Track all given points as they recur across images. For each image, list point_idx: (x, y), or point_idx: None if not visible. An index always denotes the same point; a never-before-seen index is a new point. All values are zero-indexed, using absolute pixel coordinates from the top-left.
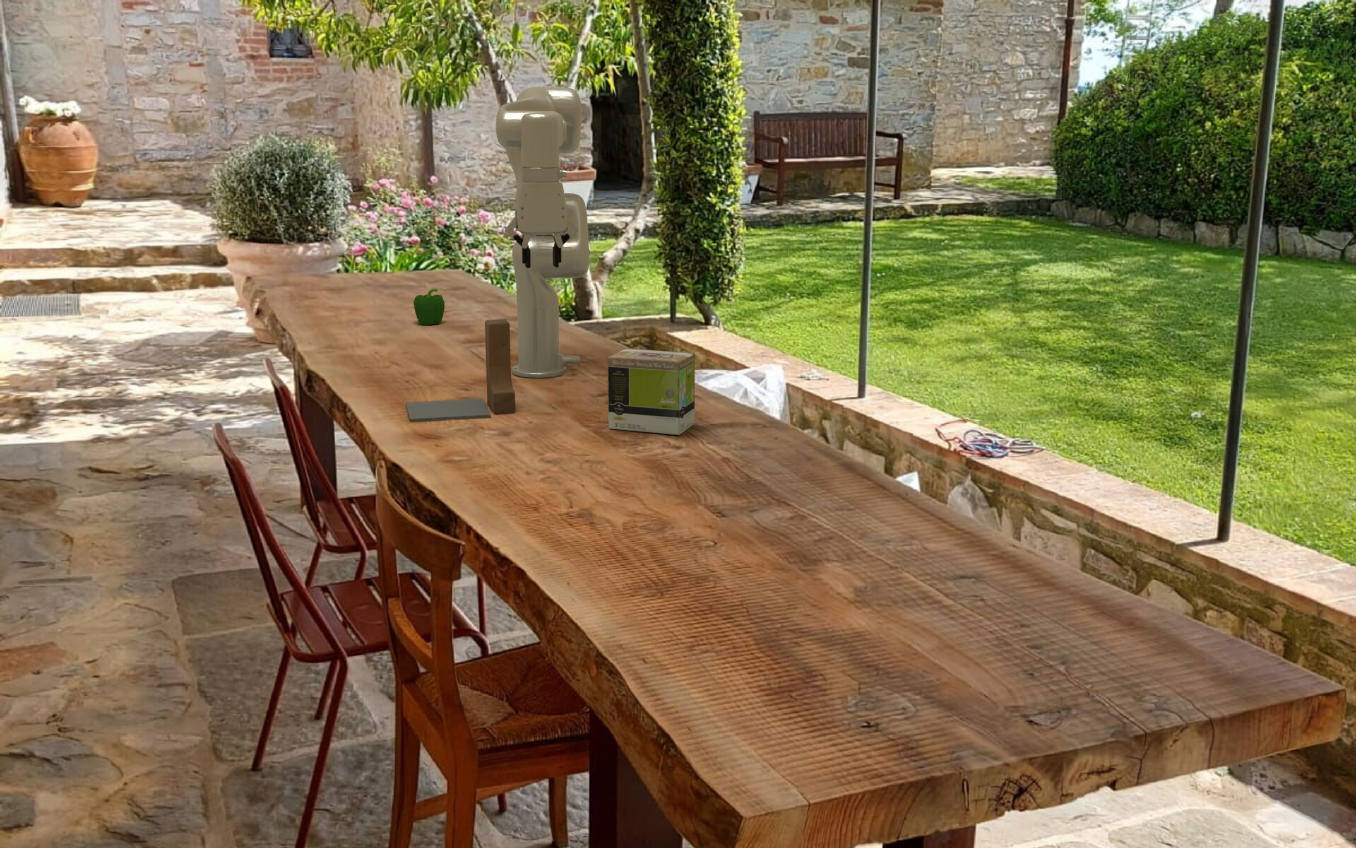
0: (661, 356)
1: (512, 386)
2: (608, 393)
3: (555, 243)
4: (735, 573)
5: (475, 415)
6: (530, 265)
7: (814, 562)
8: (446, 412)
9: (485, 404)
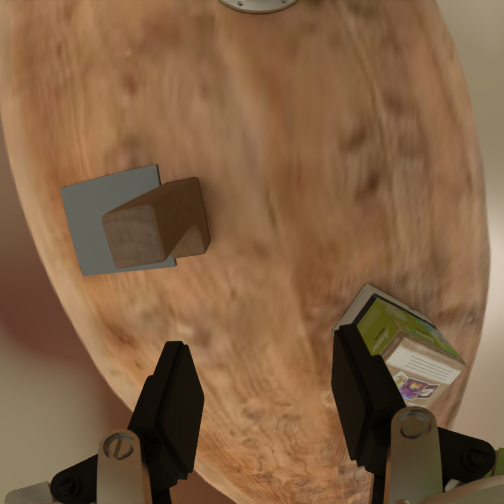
0: (420, 395)
1: (200, 230)
2: None
3: (377, 460)
4: (319, 501)
5: (155, 268)
6: (202, 404)
7: (353, 493)
8: None
9: None
